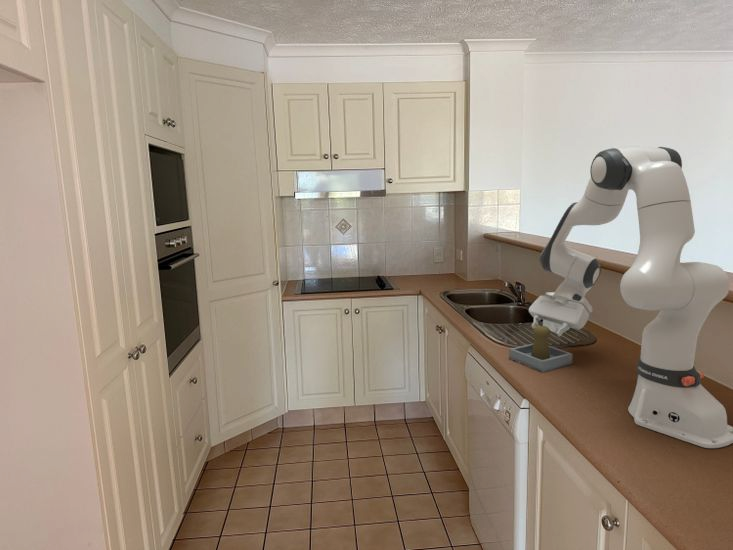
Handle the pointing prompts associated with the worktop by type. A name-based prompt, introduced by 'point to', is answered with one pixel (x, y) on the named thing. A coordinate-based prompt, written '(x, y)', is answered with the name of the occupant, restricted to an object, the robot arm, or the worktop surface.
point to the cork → (541, 343)
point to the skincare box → (549, 324)
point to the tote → (524, 356)
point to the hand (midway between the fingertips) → (545, 331)
